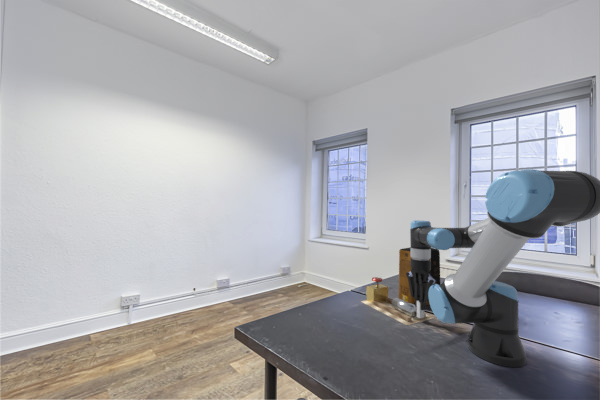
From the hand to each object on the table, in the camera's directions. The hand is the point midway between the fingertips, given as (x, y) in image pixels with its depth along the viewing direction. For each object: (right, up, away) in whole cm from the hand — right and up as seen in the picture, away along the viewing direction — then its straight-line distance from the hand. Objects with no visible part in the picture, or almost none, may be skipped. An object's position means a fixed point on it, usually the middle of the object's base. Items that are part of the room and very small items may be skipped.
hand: (420, 316), depth 103 cm
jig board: (-6, -3, +12) cm, 14 cm away
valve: (-12, -2, +23) cm, 26 cm away
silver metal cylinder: (-4, -2, +8) cm, 9 cm away
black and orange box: (+10, -4, +22) cm, 25 cm away
